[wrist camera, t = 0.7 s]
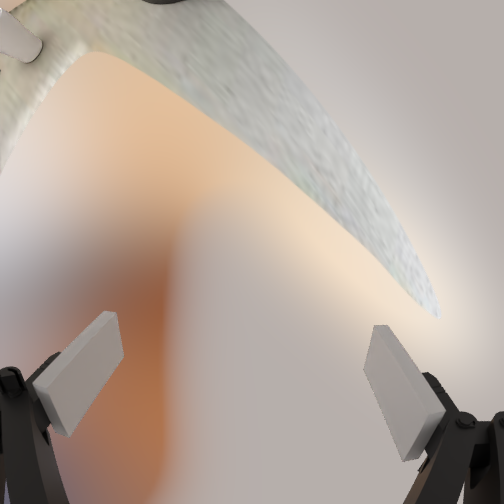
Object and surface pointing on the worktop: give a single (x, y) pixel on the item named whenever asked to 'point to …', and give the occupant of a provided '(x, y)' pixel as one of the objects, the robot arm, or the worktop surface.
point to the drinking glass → (17, 39)
